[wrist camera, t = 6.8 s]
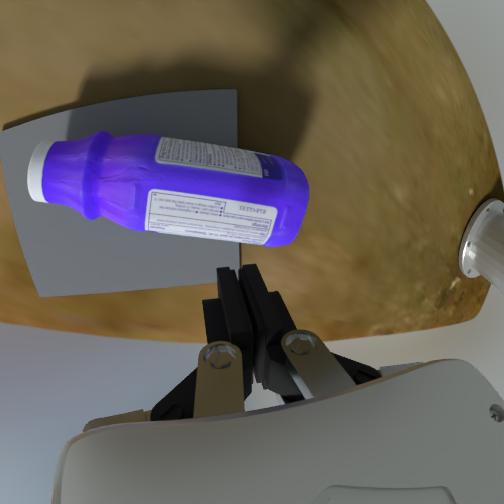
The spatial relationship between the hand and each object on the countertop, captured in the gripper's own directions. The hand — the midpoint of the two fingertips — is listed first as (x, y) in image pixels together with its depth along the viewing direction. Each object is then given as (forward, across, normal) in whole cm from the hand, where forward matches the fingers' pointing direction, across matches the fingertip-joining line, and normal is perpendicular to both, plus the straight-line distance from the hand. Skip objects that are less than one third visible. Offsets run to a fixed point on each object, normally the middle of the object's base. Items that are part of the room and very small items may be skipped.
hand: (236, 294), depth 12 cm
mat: (+12, +8, -1) cm, 15 cm away
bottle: (+8, -5, -1) cm, 10 cm away
